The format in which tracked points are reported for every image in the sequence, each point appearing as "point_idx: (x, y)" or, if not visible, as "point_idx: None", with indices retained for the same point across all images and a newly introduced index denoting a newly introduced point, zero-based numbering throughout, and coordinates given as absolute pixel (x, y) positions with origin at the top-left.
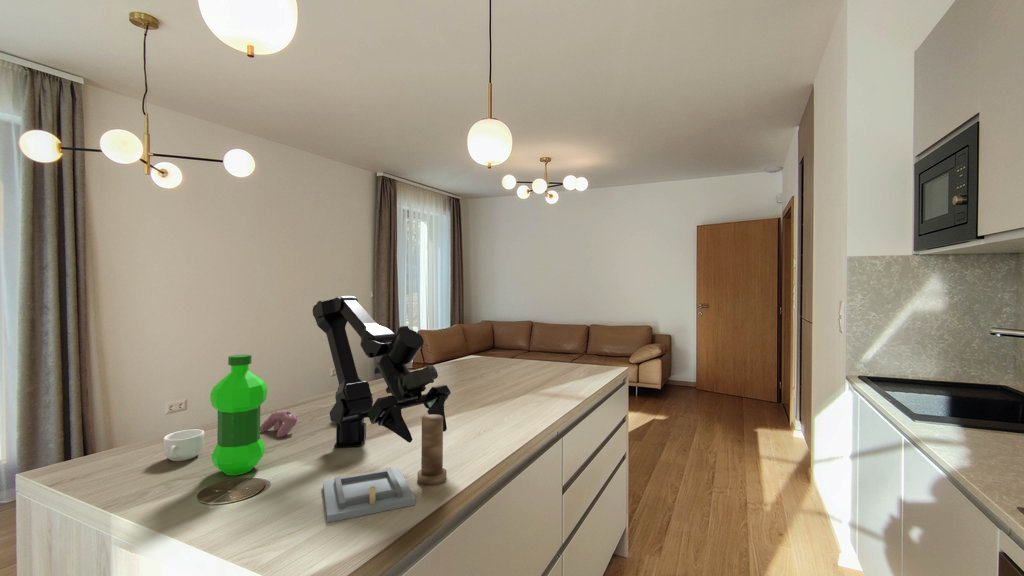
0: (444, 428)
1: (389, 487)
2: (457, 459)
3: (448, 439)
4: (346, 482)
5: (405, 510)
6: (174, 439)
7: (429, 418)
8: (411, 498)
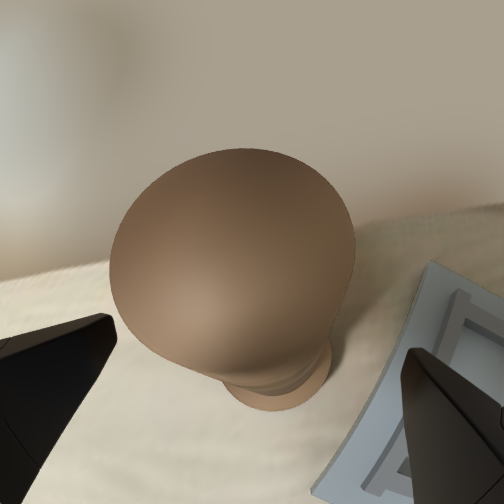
0: (108, 323)
1: None
2: (98, 386)
3: None
4: None
5: (454, 266)
6: None
7: (278, 232)
8: (439, 266)
